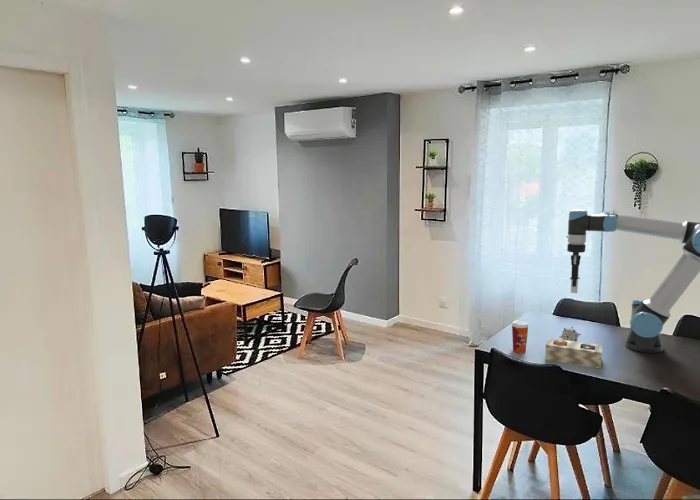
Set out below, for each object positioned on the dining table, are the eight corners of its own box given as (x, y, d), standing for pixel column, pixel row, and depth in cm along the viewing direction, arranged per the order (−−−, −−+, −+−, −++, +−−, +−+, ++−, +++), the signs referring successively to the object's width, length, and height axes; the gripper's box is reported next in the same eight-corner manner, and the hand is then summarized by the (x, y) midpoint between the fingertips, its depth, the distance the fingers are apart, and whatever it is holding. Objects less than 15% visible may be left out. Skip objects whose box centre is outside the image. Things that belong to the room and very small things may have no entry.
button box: (601, 360, 207) (602, 345, 206) (600, 368, 198) (601, 352, 197) (547, 352, 218) (548, 337, 216) (545, 359, 209) (545, 344, 208)
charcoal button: (593, 358, 206) (593, 346, 205) (592, 361, 202) (593, 349, 201) (581, 356, 208) (582, 344, 207) (580, 360, 204) (581, 348, 203)
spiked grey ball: (573, 351, 227) (584, 340, 220) (556, 345, 228) (566, 333, 221) (573, 338, 233) (583, 326, 226) (556, 331, 234) (566, 319, 227)
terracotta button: (565, 351, 211) (566, 340, 210) (565, 355, 207) (565, 343, 206) (554, 350, 213) (555, 338, 212) (553, 353, 209) (554, 341, 209)
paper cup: (519, 355, 215) (520, 326, 213) (507, 350, 222) (507, 321, 219) (531, 352, 218) (532, 323, 216) (519, 346, 225) (519, 318, 223)
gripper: (568, 241, 224) (566, 288, 228) (566, 244, 213) (564, 295, 216) (586, 241, 220) (583, 290, 224) (584, 245, 209) (582, 296, 213)
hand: (574, 292), depth 220 cm, fingers closed
